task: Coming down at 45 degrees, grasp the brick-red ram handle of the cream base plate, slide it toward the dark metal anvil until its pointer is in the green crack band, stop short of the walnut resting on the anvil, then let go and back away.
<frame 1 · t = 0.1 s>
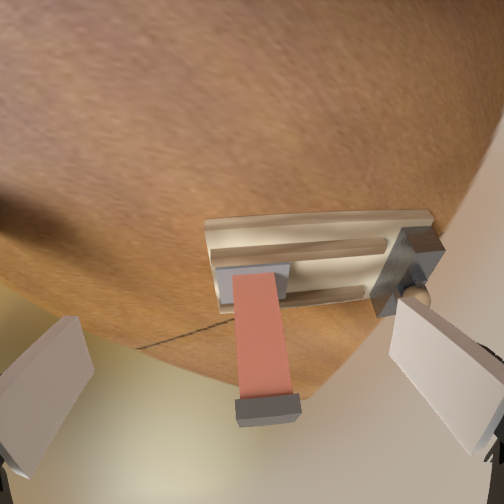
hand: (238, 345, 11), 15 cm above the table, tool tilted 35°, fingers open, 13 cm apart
walnut: (409, 288, 29), point 5 cm above the table, touching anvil
handle: (259, 346, 26), point 9 cm above the table, slide at 0.0 cm
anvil: (393, 253, 32), resting on cream base plate
cream base plate: (319, 260, 32), on the table
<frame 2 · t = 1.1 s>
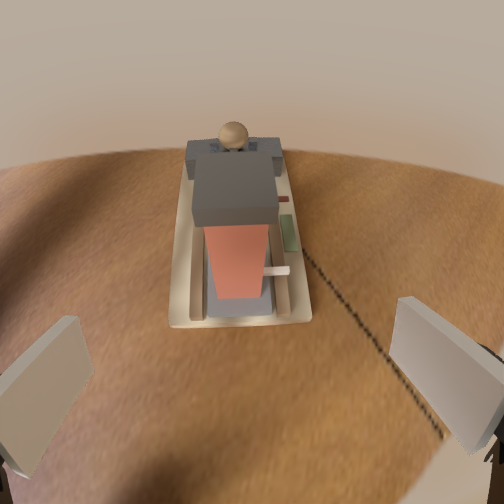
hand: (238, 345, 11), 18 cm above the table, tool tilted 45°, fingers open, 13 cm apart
walnut: (233, 147, 36), point 5 cm above the table, touching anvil
handle: (248, 243, 23), point 9 cm above the table, slide at 0.0 cm
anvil: (234, 175, 40), resting on cream base plate
cream base plate: (236, 231, 35), on the table
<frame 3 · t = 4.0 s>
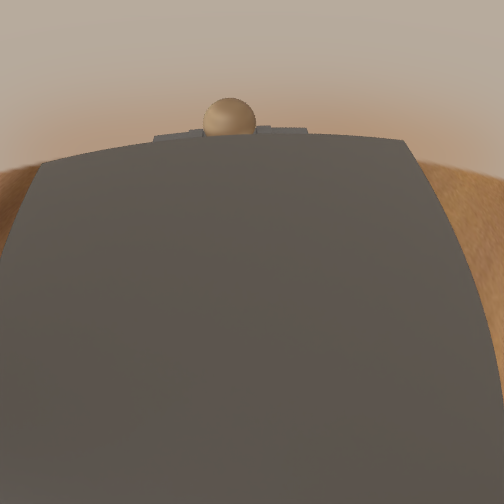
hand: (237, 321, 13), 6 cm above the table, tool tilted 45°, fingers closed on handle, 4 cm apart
walnut: (230, 143, 20), point 5 cm above the table, touching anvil
handle: (271, 401, 8), point 9 cm above the table, slide at 0.0 cm, touching gripper
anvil: (232, 190, 25), resting on cream base plate
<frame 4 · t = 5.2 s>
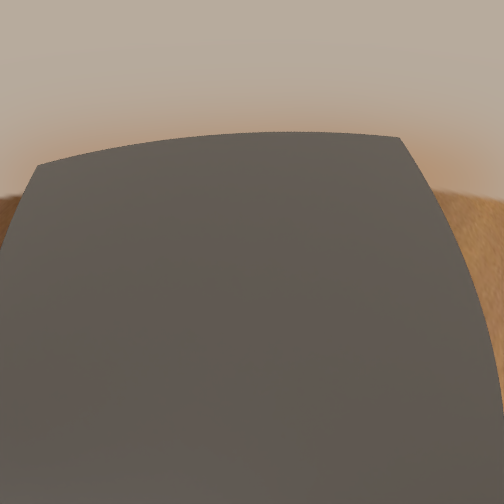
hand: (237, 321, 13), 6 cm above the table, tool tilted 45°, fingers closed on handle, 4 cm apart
handle: (270, 401, 8), point 9 cm above the table, slide at 4.8 cm, touching gripper
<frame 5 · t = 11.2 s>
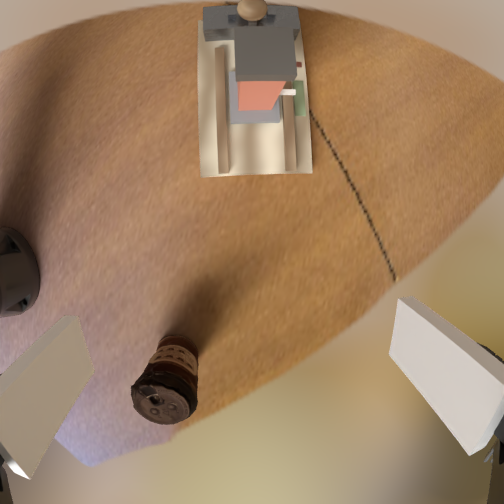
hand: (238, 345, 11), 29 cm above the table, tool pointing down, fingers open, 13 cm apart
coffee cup: (177, 350, 43), on the table
walnut: (251, 15, 27), point 5 cm above the table, touching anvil
handle: (267, 78, 26), point 9 cm above the table, slide at 6.0 cm
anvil: (249, 33, 32), resting on cream base plate
cream base plate: (252, 90, 35), on the table
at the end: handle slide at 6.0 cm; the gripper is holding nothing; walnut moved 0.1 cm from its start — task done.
